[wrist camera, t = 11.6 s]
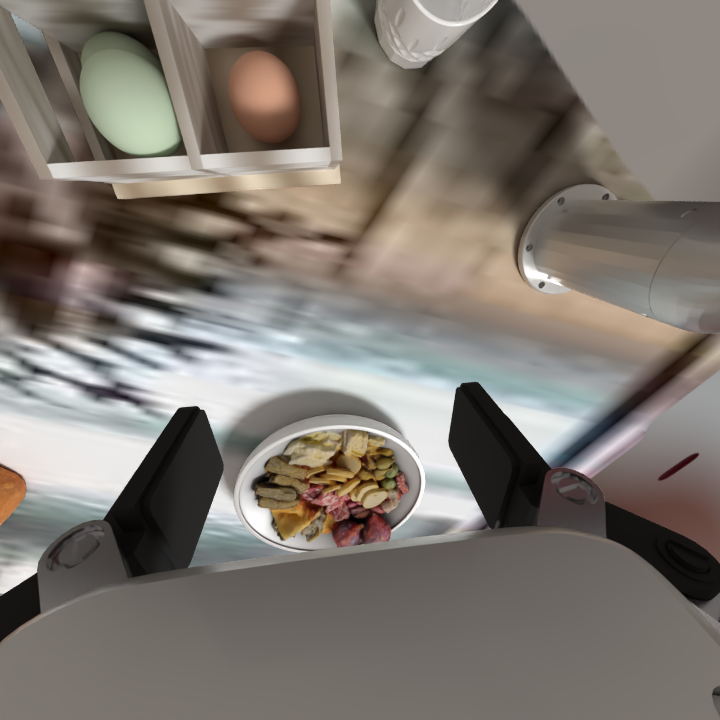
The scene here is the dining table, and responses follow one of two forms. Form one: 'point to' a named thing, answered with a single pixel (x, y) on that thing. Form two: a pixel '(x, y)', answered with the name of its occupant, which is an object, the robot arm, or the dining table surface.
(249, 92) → the terracotta ball
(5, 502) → the bread
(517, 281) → the dining table surface
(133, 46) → the sage ball
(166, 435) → the robot arm
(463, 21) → the white cup
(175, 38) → the grey divided rectangular box
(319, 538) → the bowl
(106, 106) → the sage ball
